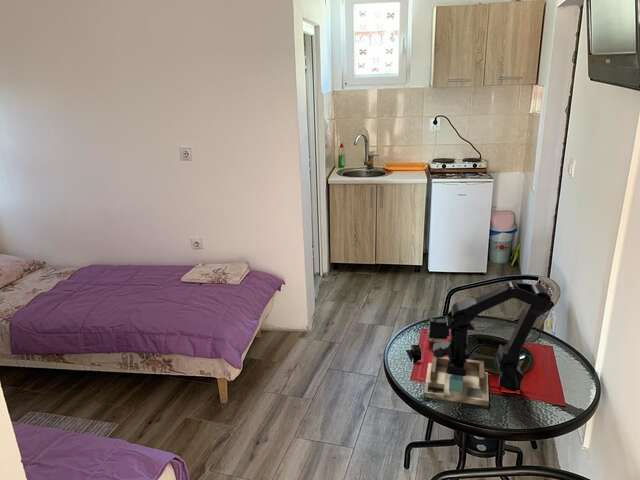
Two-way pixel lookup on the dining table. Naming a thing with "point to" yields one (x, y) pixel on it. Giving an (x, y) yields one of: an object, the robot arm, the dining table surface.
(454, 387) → the block
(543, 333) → the dining table surface
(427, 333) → the game die
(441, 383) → the board
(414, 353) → the black box
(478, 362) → the cubby
